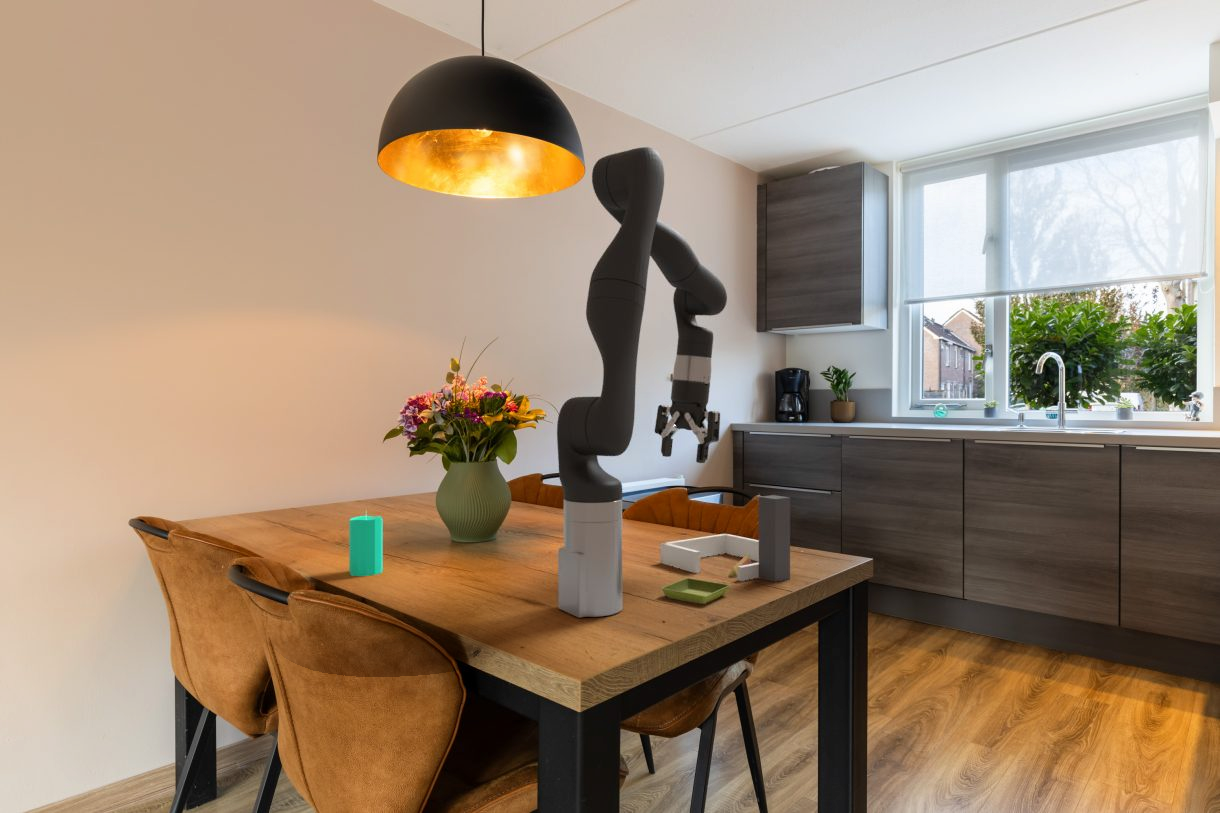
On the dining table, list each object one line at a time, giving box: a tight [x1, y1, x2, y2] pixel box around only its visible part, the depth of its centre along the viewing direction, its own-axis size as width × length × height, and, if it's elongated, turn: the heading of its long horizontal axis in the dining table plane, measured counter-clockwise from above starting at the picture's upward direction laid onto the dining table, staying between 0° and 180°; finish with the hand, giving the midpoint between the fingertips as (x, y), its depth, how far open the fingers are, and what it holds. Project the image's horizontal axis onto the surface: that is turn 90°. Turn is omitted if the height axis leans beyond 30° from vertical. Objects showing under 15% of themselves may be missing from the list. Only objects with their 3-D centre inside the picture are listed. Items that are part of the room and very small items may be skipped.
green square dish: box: [660, 577, 731, 605], centre depth 115 cm, size 9×9×2 cm
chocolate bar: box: [727, 555, 753, 578], centre depth 134 cm, size 3×12×2 cm, turn 157°
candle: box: [348, 509, 384, 577], centre depth 132 cm, size 6×6×12 cm
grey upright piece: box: [737, 494, 791, 583], centre depth 128 cm, size 13×5×15 cm, turn 125°
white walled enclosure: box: [660, 533, 759, 574], centre depth 141 cm, size 18×10×4 cm, turn 125°
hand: (683, 459), depth 139 cm, fingers open, 8 cm apart
